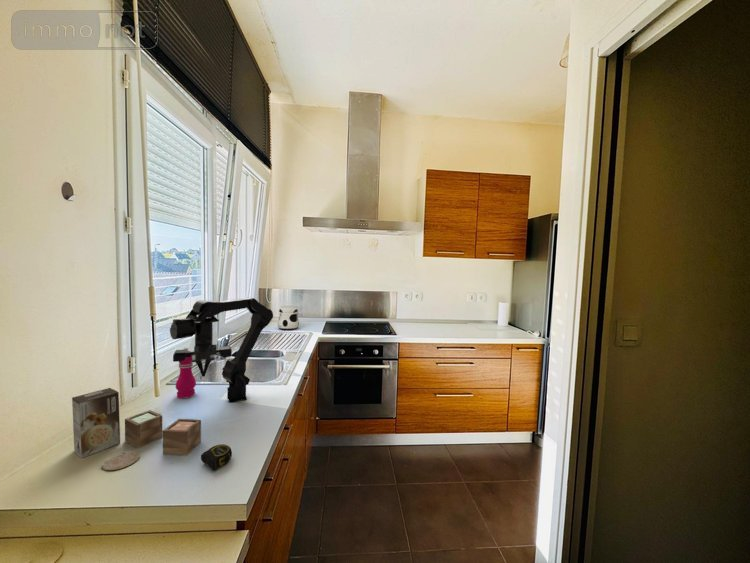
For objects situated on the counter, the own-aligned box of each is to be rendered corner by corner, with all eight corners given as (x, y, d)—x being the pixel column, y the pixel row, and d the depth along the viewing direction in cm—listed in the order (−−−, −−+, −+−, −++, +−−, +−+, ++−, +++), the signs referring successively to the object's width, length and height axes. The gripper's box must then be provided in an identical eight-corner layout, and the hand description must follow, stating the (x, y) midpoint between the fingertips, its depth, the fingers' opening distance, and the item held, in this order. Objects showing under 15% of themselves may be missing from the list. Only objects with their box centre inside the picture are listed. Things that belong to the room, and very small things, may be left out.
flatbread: (135, 450, 92) (135, 447, 92) (142, 462, 87) (142, 458, 87) (99, 463, 85) (99, 460, 85) (104, 476, 81) (104, 473, 80)
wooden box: (178, 440, 97) (178, 418, 97) (200, 441, 97) (200, 419, 96) (162, 454, 90) (162, 430, 90) (186, 455, 90) (186, 432, 89)
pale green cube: (148, 426, 100) (148, 412, 100) (156, 430, 98) (156, 416, 98) (131, 433, 96) (130, 419, 96) (139, 438, 94) (139, 423, 94)
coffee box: (112, 436, 98) (111, 386, 97) (120, 443, 94) (120, 391, 94) (72, 451, 90) (71, 396, 89) (80, 459, 87) (79, 402, 86)
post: (150, 430, 102) (149, 409, 101) (162, 436, 99) (162, 415, 98) (125, 441, 96) (124, 419, 95) (137, 448, 92) (137, 425, 92)
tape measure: (199, 464, 87) (199, 451, 86) (224, 452, 92) (224, 440, 92) (211, 475, 82) (211, 461, 82) (236, 462, 88) (236, 449, 88)
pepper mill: (171, 396, 127) (171, 348, 126) (189, 390, 134) (189, 344, 133) (182, 400, 124) (182, 351, 123) (199, 393, 130) (199, 346, 129)
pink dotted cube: (180, 435, 96) (179, 421, 96) (195, 436, 96) (195, 421, 95) (169, 444, 91) (168, 429, 91) (185, 445, 91) (185, 430, 91)
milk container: (273, 328, 260) (274, 306, 259) (292, 325, 271) (293, 305, 270) (283, 331, 247) (283, 309, 246) (302, 329, 259) (303, 307, 258)
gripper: (171, 341, 104) (170, 387, 105) (232, 337, 112) (232, 380, 113) (175, 334, 114) (174, 376, 114) (231, 331, 122) (230, 370, 123)
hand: (203, 376), depth 116 cm, fingers closed
